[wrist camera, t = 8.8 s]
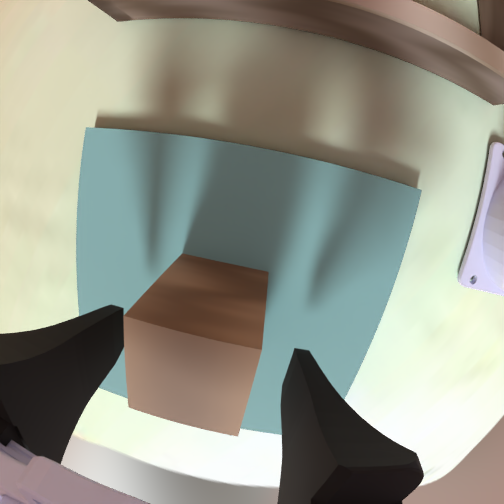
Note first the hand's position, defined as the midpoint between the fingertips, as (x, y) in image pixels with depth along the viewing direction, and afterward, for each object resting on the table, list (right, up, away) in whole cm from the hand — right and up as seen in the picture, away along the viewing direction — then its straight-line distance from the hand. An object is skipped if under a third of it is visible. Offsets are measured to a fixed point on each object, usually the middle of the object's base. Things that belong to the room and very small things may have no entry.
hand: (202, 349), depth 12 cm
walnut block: (0, +2, +3) cm, 3 cm away
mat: (0, +1, +3) cm, 3 cm away
